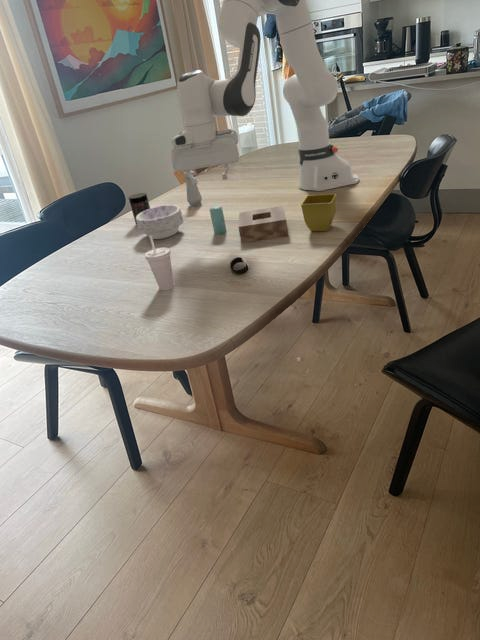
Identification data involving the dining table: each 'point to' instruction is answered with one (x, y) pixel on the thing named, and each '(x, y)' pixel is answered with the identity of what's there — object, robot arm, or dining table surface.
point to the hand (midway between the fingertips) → (210, 181)
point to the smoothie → (160, 266)
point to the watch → (238, 260)
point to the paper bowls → (160, 221)
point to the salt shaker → (192, 191)
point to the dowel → (218, 220)
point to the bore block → (262, 224)
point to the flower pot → (319, 211)
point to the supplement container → (138, 203)
